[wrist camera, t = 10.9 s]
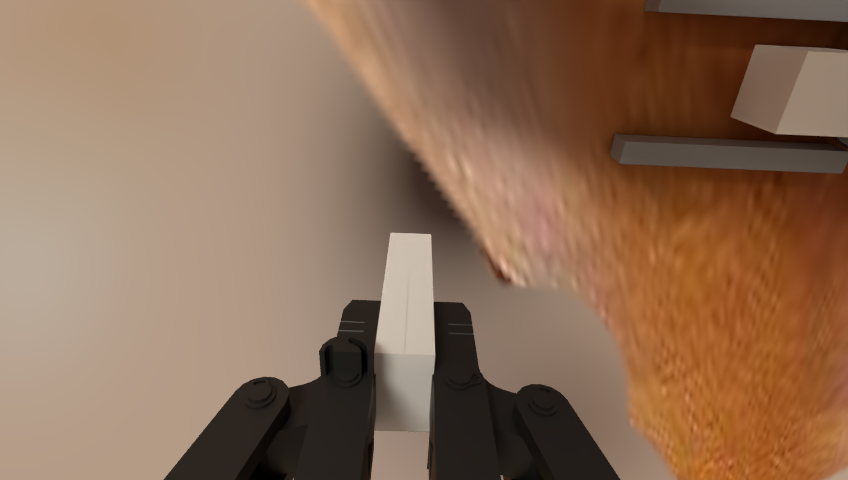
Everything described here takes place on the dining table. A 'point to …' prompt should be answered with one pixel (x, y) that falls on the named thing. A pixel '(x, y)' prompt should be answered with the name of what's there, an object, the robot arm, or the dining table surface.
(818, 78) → the cube with cylindrical stub
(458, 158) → the dining table surface
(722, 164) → the guide rails
